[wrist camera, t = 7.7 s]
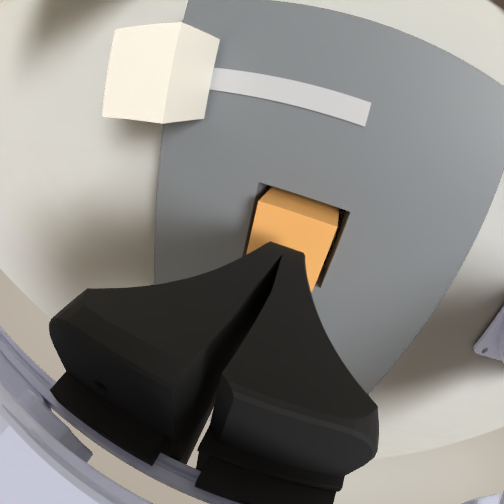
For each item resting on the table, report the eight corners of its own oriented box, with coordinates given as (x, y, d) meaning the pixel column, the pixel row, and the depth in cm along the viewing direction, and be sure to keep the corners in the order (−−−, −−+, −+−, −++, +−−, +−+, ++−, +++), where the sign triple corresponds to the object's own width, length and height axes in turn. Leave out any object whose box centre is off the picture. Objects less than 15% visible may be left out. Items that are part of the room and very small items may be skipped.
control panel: (500, 99, 8) (532, 99, 5) (348, 395, 19) (344, 427, 16) (208, 10, 10) (177, -7, 8) (169, 329, 21) (150, 355, 19)
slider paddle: (220, 39, 9) (181, 22, 6) (203, 118, 11) (162, 123, 8) (160, 38, 9) (115, 29, 7) (148, 111, 11) (102, 116, 9)
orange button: (339, 206, 13) (337, 227, 10) (318, 263, 14) (311, 291, 12) (273, 185, 13) (258, 200, 11) (259, 243, 15) (243, 267, 13)
